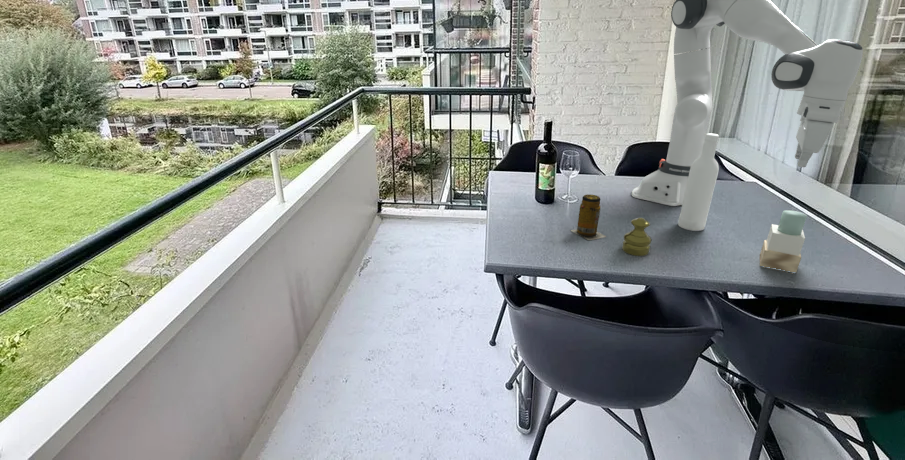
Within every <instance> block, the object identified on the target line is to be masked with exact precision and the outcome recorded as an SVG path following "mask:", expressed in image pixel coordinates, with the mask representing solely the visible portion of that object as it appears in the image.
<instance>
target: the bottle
mask: <svg viewBox="0 0 905 460" xmlns="http://www.w3.org/2000/svg"><path fill="white" fill-rule="evenodd" d="M719 138H720V135H719V134H718V133H710V132H709V133H706V135H705V138H704V144H703V148H702V153H701V156H700V157H699V158H697V159H696V160H695V161H694V162H693V164H692V165H691V167H690V172H689V177H688V181H687V186H686V190H685V195H684V199H683V204H682V205H681V208H680V213H679V217H678V222H677V224H678V225H677V226H678V227H680V228H682V229H684V230H687V231H693V232H700V231H703V230H704V229H705V228H706V225H707V219H708V215H709V213H710V212H709V211H710V207H711V203H712V199H713V195H714V192H715V191H714V190H715V187H716V182H717V179H718V176H719V171H720V170H719V163H718V161H717V160H716V159H715V154H716V152H717V151H716V150H717V147H718V142H719V140H720V139H719Z"/></svg>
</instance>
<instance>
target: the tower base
mask: <svg viewBox="0 0 905 460" xmlns="http://www.w3.org/2000/svg"><path fill="white" fill-rule="evenodd" d="M801 260H802V253H801V252H800V255H799V256H796V255H791V254H786V253H781V252H776V251H771V250H767V239H764V240H763V243H762V247H761V250H760V253H759V267H760V266H764V267H763V268H765V267H770V268H776V269H781V270H785V271H790V272H796V273H797V271H798V269H799V266H800V263H801ZM770 268H769V269H770Z"/></svg>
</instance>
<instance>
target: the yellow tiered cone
mask: <svg viewBox="0 0 905 460" xmlns="http://www.w3.org/2000/svg"><path fill="white" fill-rule="evenodd" d="M630 223H631V225H633V229H631V230H630V231H627V232H625V233H624V235H623V241H622V246H621V250H622V251H623V252H624V253H625V254H628V255H631V256H636V257H639V256H640V257H643V256H647V255H649V253H650V249H651V244H652V240H653V239H652V237H651V236H650V235H649V234H648V233H647V232H646V231H645V230H646V228H649V226H650V225H651V223H650V221H649V220H647V219H645V218H644V217H637V218H634V219H632V220H630Z"/></svg>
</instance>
